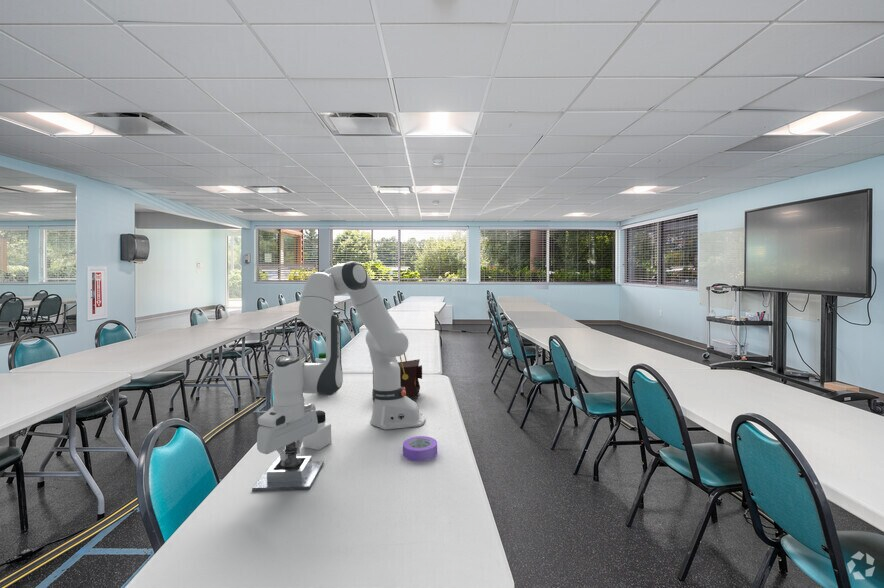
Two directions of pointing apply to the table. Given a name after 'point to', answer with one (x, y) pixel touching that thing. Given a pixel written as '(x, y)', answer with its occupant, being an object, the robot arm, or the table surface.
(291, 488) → the plate
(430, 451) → the masking tape
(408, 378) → the dark brown boxy piece
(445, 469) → the table surface
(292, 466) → the chess piece
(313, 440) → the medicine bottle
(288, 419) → the robot arm
